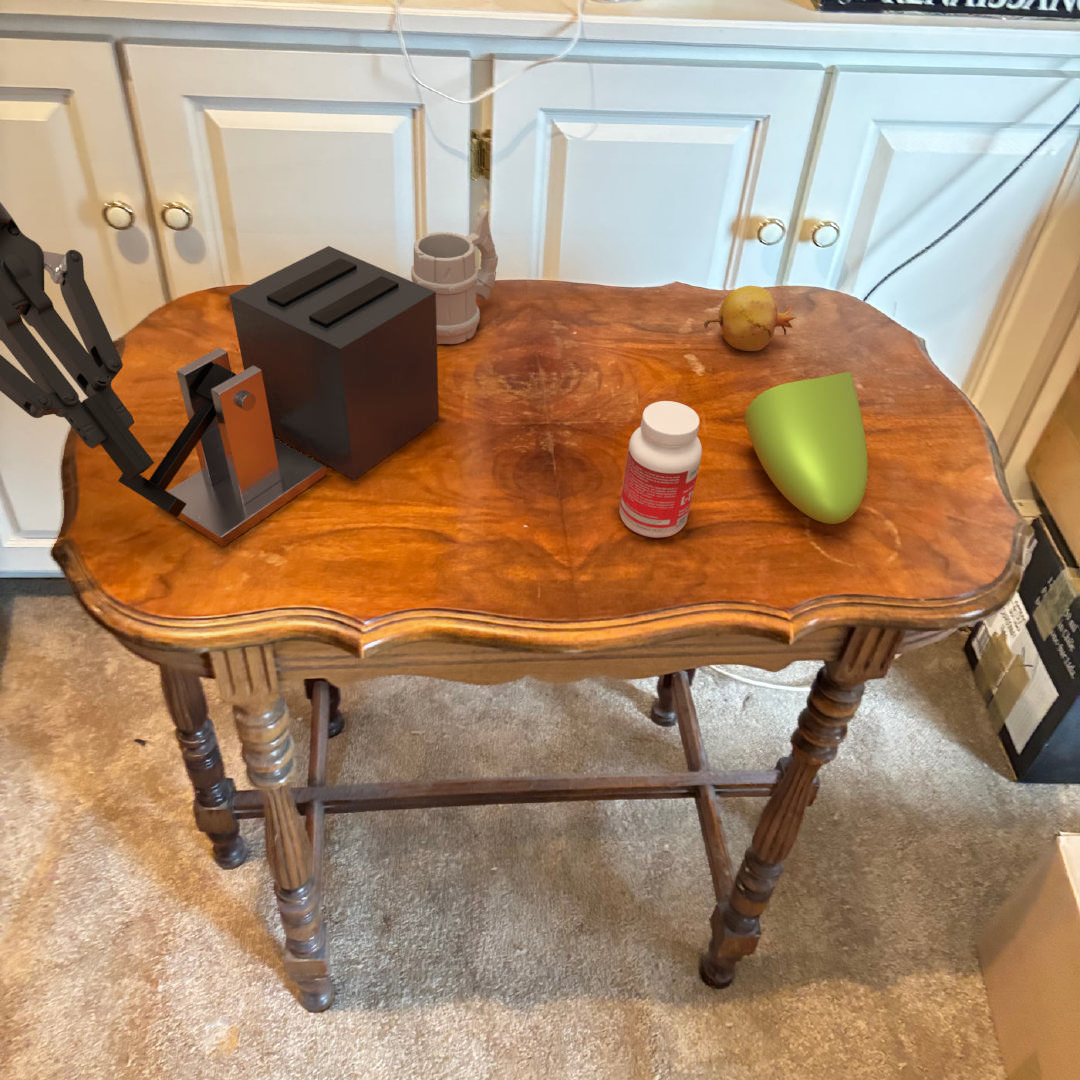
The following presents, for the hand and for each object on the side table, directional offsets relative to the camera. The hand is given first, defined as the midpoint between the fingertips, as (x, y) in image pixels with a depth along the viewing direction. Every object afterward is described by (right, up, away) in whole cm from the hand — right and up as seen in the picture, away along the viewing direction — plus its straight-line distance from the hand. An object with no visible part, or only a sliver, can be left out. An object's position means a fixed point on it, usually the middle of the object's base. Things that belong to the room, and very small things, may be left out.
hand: (141, 471), depth 73 cm
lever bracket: (+5, -1, +11) cm, 12 cm away
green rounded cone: (+56, +1, +17) cm, 59 cm away
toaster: (+12, +6, +19) cm, 23 cm away
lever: (+3, +3, +3) cm, 5 cm away
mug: (+22, +19, +33) cm, 44 cm away
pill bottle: (+41, -3, +11) cm, 43 cm away
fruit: (+54, +17, +33) cm, 66 cm away
